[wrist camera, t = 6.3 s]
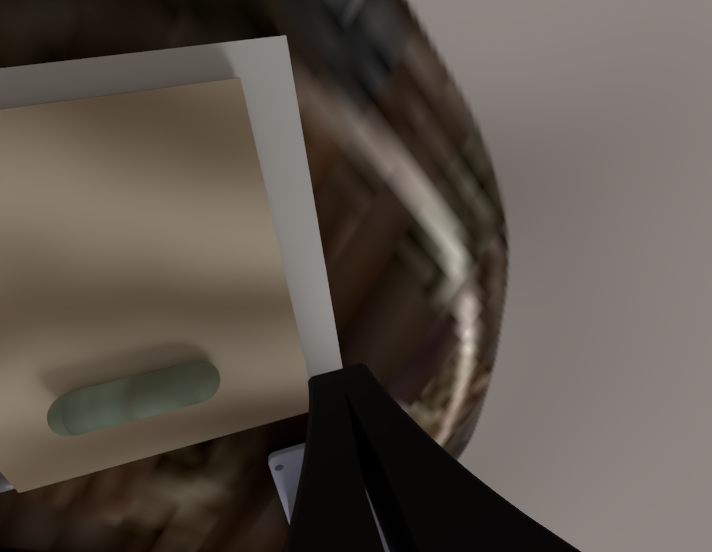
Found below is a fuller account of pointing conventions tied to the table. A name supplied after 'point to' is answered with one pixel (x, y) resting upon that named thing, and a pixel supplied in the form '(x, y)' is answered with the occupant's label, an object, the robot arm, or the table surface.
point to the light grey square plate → (272, 138)
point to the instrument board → (137, 282)
